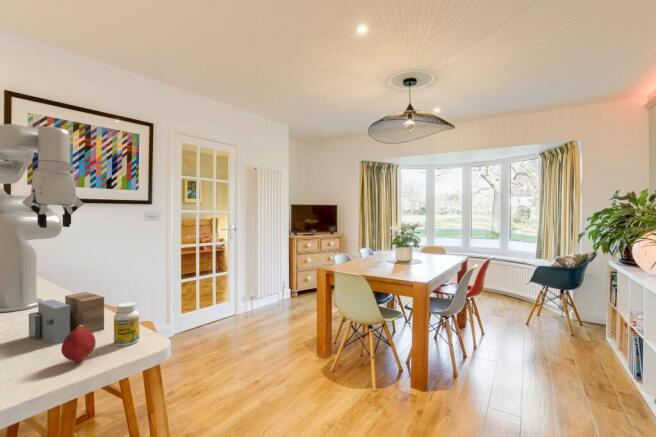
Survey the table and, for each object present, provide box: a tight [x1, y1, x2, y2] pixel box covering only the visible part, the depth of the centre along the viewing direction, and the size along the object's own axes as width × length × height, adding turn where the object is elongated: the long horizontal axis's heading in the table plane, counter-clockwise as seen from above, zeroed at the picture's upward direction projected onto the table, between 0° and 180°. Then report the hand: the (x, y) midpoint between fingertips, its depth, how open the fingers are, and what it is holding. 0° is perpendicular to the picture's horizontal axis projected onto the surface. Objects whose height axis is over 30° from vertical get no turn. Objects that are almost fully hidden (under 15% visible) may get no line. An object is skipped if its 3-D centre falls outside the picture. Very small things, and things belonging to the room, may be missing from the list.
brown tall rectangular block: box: [64, 291, 105, 334], centre depth 88 cm, size 10×5×9 cm, turn 60°
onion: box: [60, 325, 96, 363], centre depth 69 cm, size 6×6×8 cm
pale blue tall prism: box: [37, 299, 71, 346], centre depth 81 cm, size 10×4×9 cm, turn 60°
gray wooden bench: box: [28, 311, 41, 341], centre depth 85 cm, size 4×9×6 cm, turn 150°
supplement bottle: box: [113, 301, 140, 347], centre depth 80 cm, size 5×5×10 cm
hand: (54, 226), depth 99 cm, fingers open, 5 cm apart
